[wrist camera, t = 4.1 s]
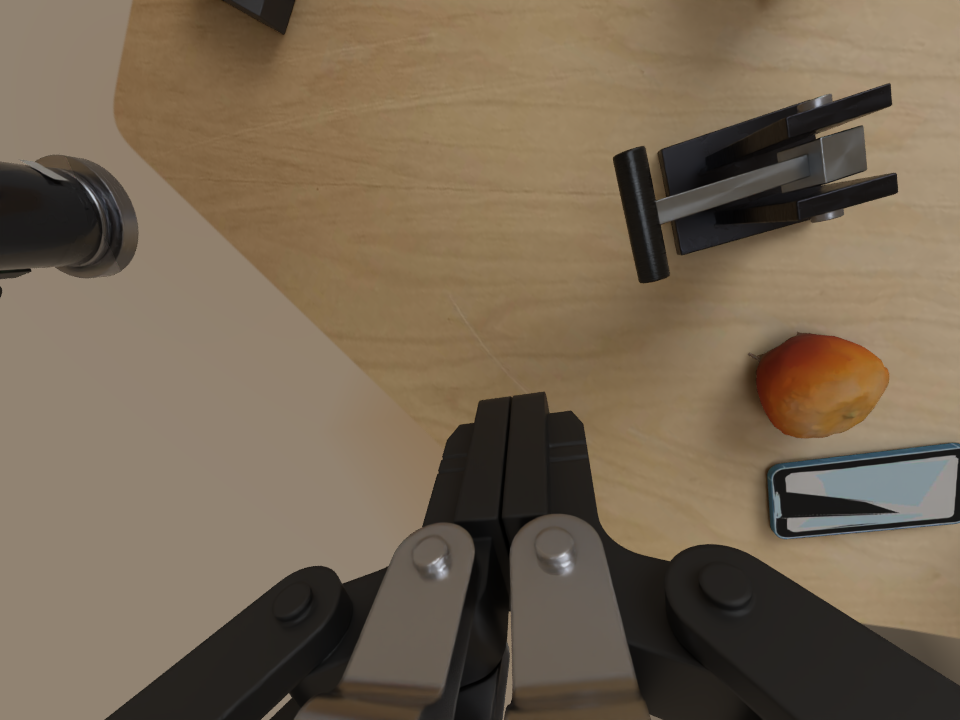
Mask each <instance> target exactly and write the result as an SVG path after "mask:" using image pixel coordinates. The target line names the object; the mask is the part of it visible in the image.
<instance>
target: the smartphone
mask: <svg viewBox="0 0 960 720" xmlns="http://www.w3.org/2000/svg"><path fill="white" fill-rule="evenodd" d="M767 479H768V495H769V510H770V525H771V529H772V531H773V532H774V533H775V534H776V535H777V536H778V537H779V538H782V539H793V538H805V537H816V536H827V535H838V534H849V533H860V532H871V531H882V530H893V529H904V528H915V527H926V526H937V525H948V524H957V523H960V444H958V443H948V444H940V445H932V446H923V447H915V448H907V449H898V450H890V451H881V452H873V453H865V454H856V455H848V456H840V457H831V458H823V459H815V460H806V461H798V462H789V463H781V464H776V465H774V466H773V467H771V468H770V469H769V471H768V474H767Z"/></svg>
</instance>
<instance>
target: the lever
mask: <svg viewBox="0 0 960 720" xmlns="http://www.w3.org/2000/svg"><path fill="white" fill-rule="evenodd" d="M777 159H778V163H776V164H773V165H770V166H767V167H763V168H760V169H757V170H754V171H751V172H747V173H744V174H741V175H738V176H734V177H731V178H728V179H725V180H721V181H718V182H715V183H712V184H708V185H705V186H702V187H699V188H695V189H692V190H689V191H686V192H683V193H679V194H676V195H673V196H670V197H666V198H663V199H660V200H657V201H656V199H655V194H654V189H653V184H652V179H651V174H650V169H649V163H648V158H647V153H646V148H645V147H644V146H640V147H636V148H633V149H630V150H627V151H624V152H622V153H619V154H617V155H616V156H614V157H613V163H614V167H615V172H616V177H617V181H618V186H619V191H620V196H621V200H622V205H623V210H624V214H625V219H626V224H627V228H628V233H629V238H630V242H631V247H632V252H633V257H634V261H635V266H636V271H637V275H638V280H639V282H640V283H650V282H655V281H658V280H662V279H665V278H667V277H668V276H670V271H669V266H668V260H667V255H666V250H665V245H664V240H663V235H662V230H661V224H664V223H667V222H670V221H673V220H676V219H679V218H682V217H686V216H689V215H692V214H695V213H698V212H701V211H704V210H707V209H710V208H713V207H717V206H720V205H723V204H726V203H729V202H732V201H735V200H738V199H741V198H744V197H748V196H751V195H754V194H757V193H760V192H763V191H766V190H769V189H772V188H775V187H779V186H781V189H782V193H783V194H785V193H789V192H793V191H797V190H802V189H806V188H810V187H815V186H819V185H823V184H827V183H830V182H833V181H836V180H839V179H842V178H845V177H848V176H851V175H854V174H857V173H860V172H863V171H866V170H867V162H866V151H865V139H864V128H863V126H858V127H854V128H851V129H848V130H844V131H841V132H838V133H834V134H831V135H828V136H824V137H821V138H818V139H815V140H812V141H809V142H806V143H803V144H800V145H797V146H794V147H791V148H788V149H785V150H782V151H779V152H778V153H777Z"/></svg>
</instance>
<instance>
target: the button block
mask: <svg viewBox="0 0 960 720" xmlns="http://www.w3.org/2000/svg"><path fill="white" fill-rule="evenodd" d="M223 1H225V2H226V3H228V4H230V5H232V6H233V7H235V8H237V9H239V10H241V11H242V12H244V13H246V14H248V15H250V16H251V17H253V18H255V19H257V20H258V21H260V22H262V23H264V24H266V25H267V26H269V27H271V28H273V29H274V30H276V31H278V32H280V33H282V34H285V31H286V27H287V24H288V21H289V18H290V14H291V11H292V8H293V4H294V1H295V0H223Z"/></svg>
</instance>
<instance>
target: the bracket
mask: <svg viewBox="0 0 960 720" xmlns="http://www.w3.org/2000/svg"><path fill="white" fill-rule="evenodd" d="M891 105H892V98H891V84H890V83H888V84H885V85H882V86H879V87H876V88H873V89H870V90H867V91H864V92H861V93H858V94H855V95H852V96H849V97H846V98H842V99H839V100H836V101H832V94H827V95H823V96H820V97H818V98H815V99H812V100H807V101H804V102H801V103H798V104H795V105H792V106H789V107H786V108H783V109H780V110H777V111H774V112H771V113H768V114H765V115H762V116H759V117H757V118H754V119H751V120H748V121H745V122H742V123H739V124H736V125H733V126H730V127H727V128H724V129H721V130H718V131H715V132H712V133H709V134H706V135H703V136H700V137H697V138H694V139H691V140H688V141H685V142H682V143H679V144H676V145H673V146H670V147H667V148H664V149H662V150H660V151H659V152H658V155H659V161H660V166H661V171H662V177H663V182H664V187H665V192H666V197H670V196H673V195H676V194H679V193H683V192H686V191H689V190H692V189H695V188H699V187H702V186H705V185H708V184H712V183H715V182H718V181H721V180H725V179H728V178H731V177H734V176H738V175H741V174H744V173H747V172H751V171H754V170H757V169H760V168H763V167H767V166H770V165H773V164H776V163H778V159H777V153H778V152H779V151H782V150H785V149H788V148H791V147H794V146H797V145H800V144H803V143H806V142H809V141H812V140H815V139H816V137H815V134H818V133H821V132H823V131H826V130H829V129H831V128H834V127H837V126H839V125H842V124H845V123H847V122H850V121H852V120H855V119H858V118H860V117H863V116H866V115H868V114H871V113H874V112H876V111H879V110H882V109H884V108H887V107H890V106H891ZM896 193H898V184H897V174H896V173H890V174H885V175H879V176H873V177H868V178H862V179H856V180H851V181H845V182H839V183H834V184H828V185H823V186H821V185H819V186H815V187H810V188H806V189H802V190H797V191H793V192H789V193H785V194H783V193H782V189H781V186H779V187H775V188H772V189H769V190H766V191H763V192H760V193H757V194H754V195H751V196H748V197H744V198H741V199H738V200H735V201H732V202H729V203H726V204H723V205H720V206H717V207H713V208H710V209H707V210H704V211H701V212H698V213H695V214H692V215H689V216H686V217H682V218H679V219H676V220H673V221H671V224H672V229H673V234H674V240H675V245H676V250H677V254H678V255H685V254H688V253H692V252H696V251H699V250H703V249H706V248H710V247H713V246H717V245H721V244H724V243H728V242H731V241H735V240H739V239H742V238H746V237H749V236H753V235H757V234H760V233H764V232H767V231H771V230H774V229H778V228H782V227H785V226H789V225H792V224H796V223H800V222H803V221H807V220H810V219H811V222H812V223H815V222H821V221H826V220H830V219H834V218H838V217H841V216H843V215H844V210H843V208H847V207H851V206H854V205H858V204H861V203H865V202H869V201H872V200H876V199H879V198H883V197H886V196H890V195H894V194H896Z"/></svg>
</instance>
